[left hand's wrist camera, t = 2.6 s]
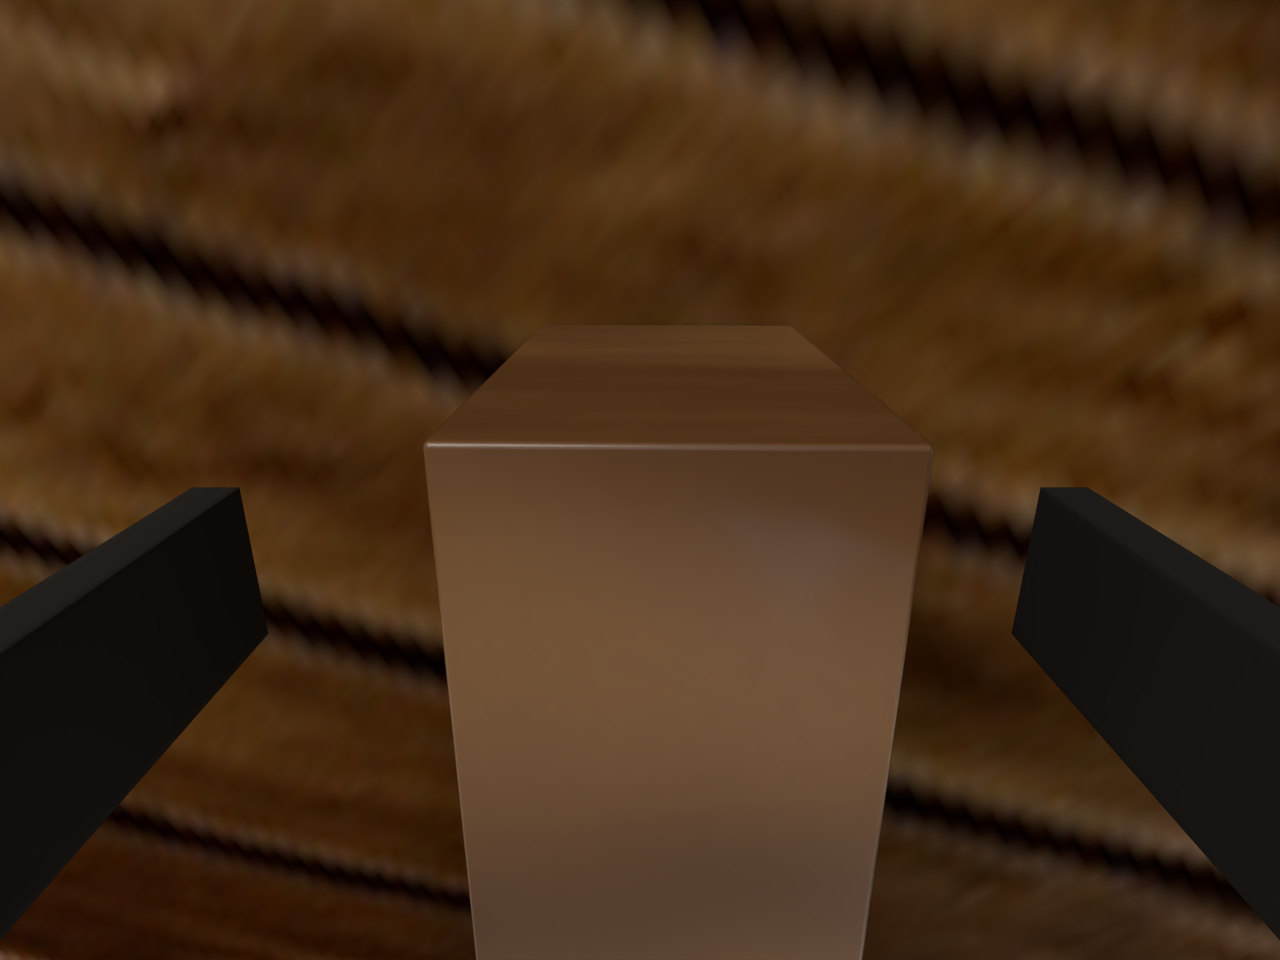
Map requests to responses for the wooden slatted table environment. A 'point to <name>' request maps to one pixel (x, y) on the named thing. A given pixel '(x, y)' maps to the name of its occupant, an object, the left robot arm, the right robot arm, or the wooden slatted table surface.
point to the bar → (673, 641)
